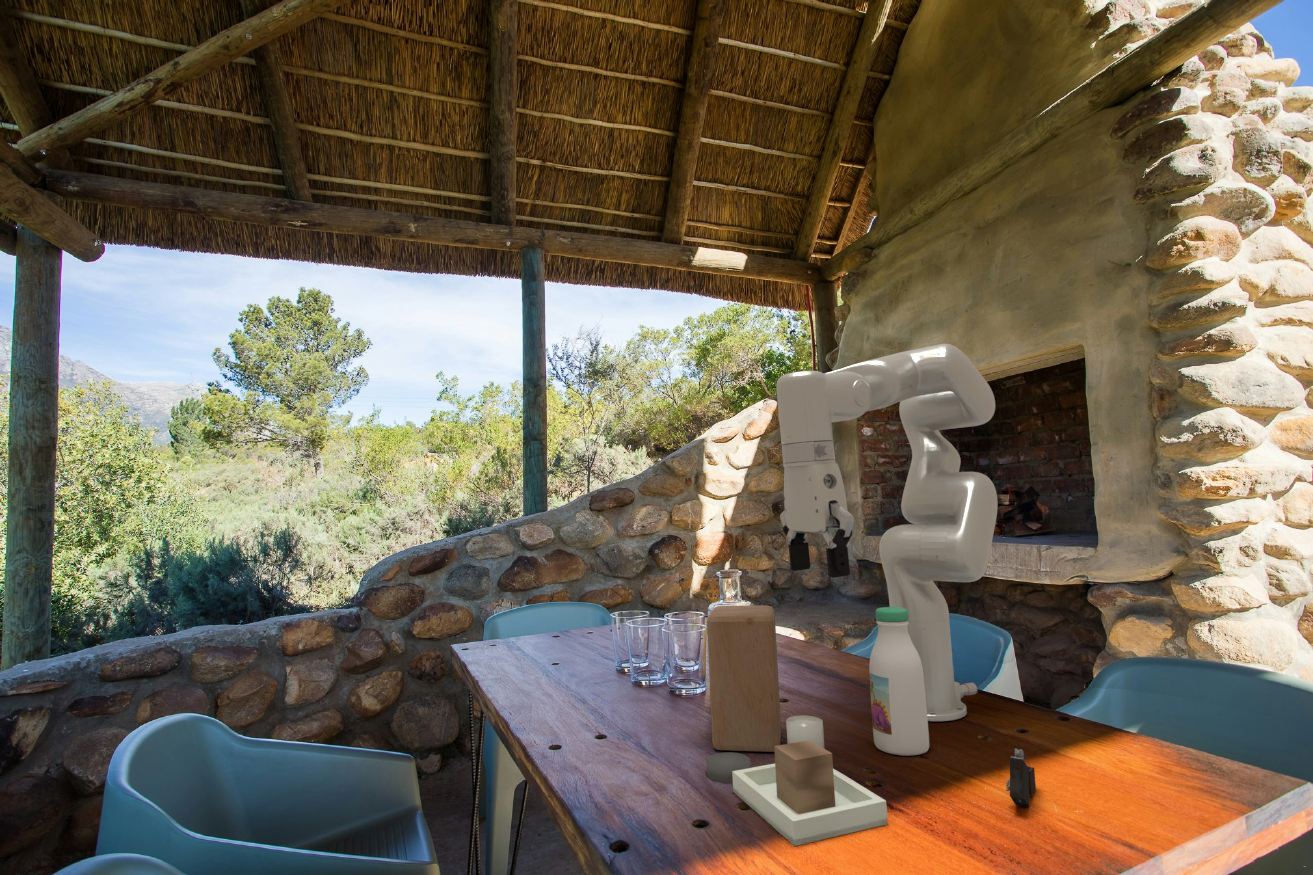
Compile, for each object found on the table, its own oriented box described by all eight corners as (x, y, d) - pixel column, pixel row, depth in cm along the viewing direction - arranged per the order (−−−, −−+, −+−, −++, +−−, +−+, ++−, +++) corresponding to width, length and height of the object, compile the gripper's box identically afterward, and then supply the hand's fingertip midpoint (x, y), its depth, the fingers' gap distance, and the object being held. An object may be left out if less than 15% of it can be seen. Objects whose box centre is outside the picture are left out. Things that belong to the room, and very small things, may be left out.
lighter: (1015, 812, 82) (1015, 764, 85) (1036, 817, 81) (1035, 767, 84) (1002, 794, 77) (1002, 743, 80) (1024, 798, 76) (1023, 746, 79)
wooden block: (780, 754, 98) (772, 614, 100) (711, 752, 100) (705, 614, 102) (781, 731, 107) (774, 604, 109) (719, 729, 109) (713, 604, 111)
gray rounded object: (739, 764, 95) (738, 749, 95) (759, 779, 90) (758, 764, 90) (700, 771, 93) (699, 756, 93) (717, 787, 88) (717, 771, 88)
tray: (814, 775, 90) (813, 756, 90) (887, 824, 75) (886, 800, 76) (733, 791, 86) (732, 771, 86) (794, 845, 71) (793, 821, 72)
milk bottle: (928, 740, 101) (917, 604, 103) (931, 759, 94) (919, 613, 96) (874, 736, 103) (865, 604, 105) (873, 754, 96) (863, 612, 98)
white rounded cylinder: (812, 756, 96) (810, 713, 97) (832, 768, 92) (829, 723, 92) (782, 762, 95) (779, 718, 95) (800, 775, 90) (798, 728, 91)
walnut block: (812, 789, 84) (809, 740, 84) (835, 806, 79) (832, 753, 80) (777, 796, 82) (774, 746, 83) (798, 814, 77) (795, 759, 78)
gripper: (867, 450, 92) (879, 575, 91) (798, 457, 108) (807, 564, 107) (820, 453, 89) (832, 582, 88) (757, 460, 105) (766, 570, 104)
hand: (819, 572), depth 98 cm, fingers open, 9 cm apart
